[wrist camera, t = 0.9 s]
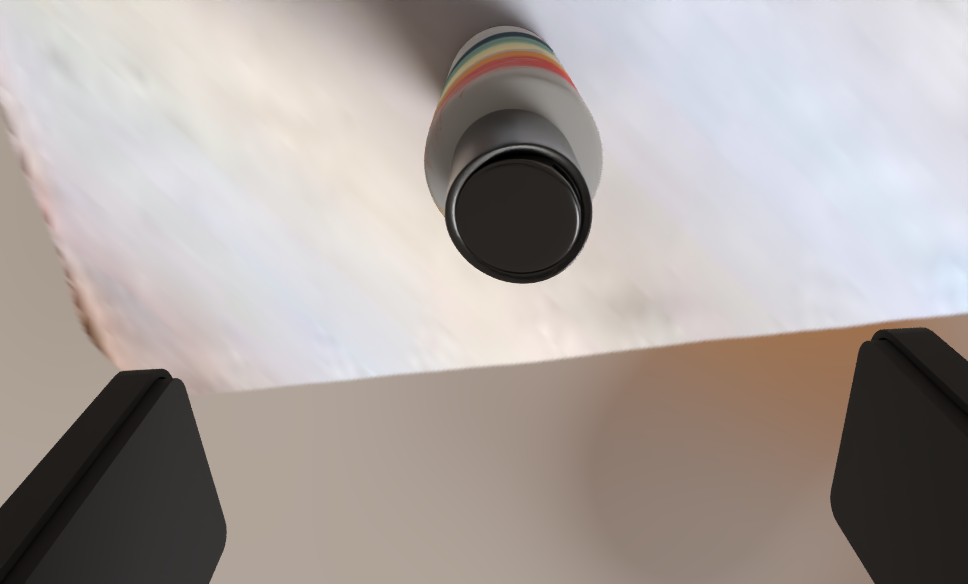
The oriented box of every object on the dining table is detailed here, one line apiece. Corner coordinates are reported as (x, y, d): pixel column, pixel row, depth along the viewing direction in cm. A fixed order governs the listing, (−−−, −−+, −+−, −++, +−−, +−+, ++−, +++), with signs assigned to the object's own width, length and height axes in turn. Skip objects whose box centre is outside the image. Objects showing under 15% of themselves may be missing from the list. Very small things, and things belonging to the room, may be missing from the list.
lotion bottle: (583, 96, 36) (676, 247, 18) (492, 160, 37) (492, 359, 19) (519, -2, 34) (552, 55, 16) (426, 70, 35) (357, 197, 17)
